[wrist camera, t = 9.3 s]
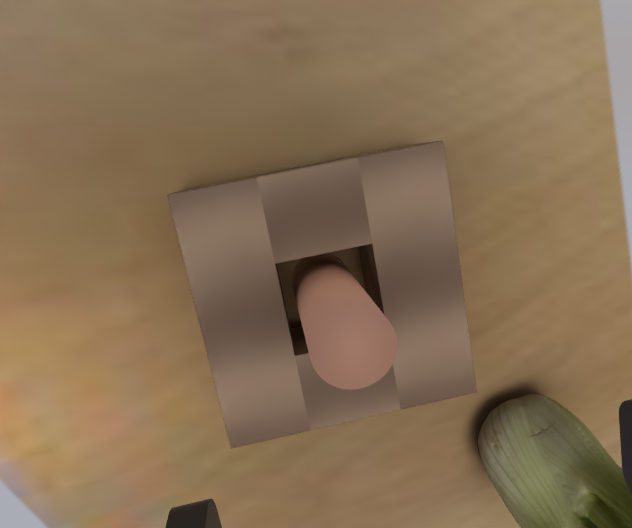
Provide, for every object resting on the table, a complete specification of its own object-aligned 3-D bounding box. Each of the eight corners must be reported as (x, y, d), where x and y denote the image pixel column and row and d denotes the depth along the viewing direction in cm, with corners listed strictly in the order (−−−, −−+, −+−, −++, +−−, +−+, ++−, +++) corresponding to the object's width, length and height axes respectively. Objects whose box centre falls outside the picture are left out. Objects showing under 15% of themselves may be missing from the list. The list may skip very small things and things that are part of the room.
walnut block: (181, 190, 25) (167, 195, 21) (416, 143, 26) (443, 140, 22) (235, 408, 28) (231, 448, 24) (447, 360, 29) (476, 391, 25)
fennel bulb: (494, 486, 31) (637, 687, 19) (444, 431, 30) (564, 609, 18) (569, 423, 30) (762, 588, 19) (522, 366, 29) (695, 503, 18)
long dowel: (286, 259, 27) (301, 315, 17) (343, 247, 27) (389, 296, 17) (298, 313, 27) (318, 398, 17) (353, 301, 27) (403, 379, 18)
